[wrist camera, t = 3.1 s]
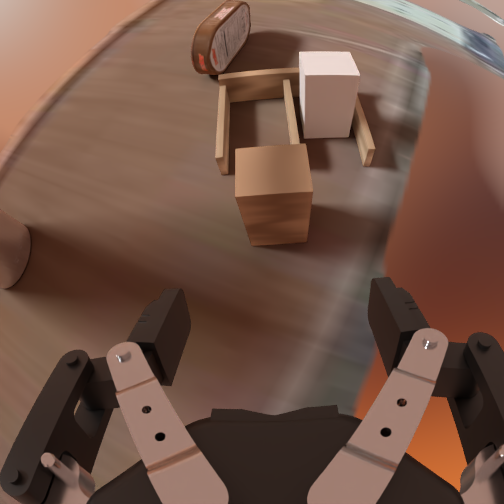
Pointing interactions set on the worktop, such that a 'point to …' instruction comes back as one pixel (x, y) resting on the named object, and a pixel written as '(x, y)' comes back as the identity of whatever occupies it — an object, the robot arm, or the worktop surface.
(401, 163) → the worktop surface
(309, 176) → the tan block
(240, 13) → the tin
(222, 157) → the rack
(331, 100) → the white block
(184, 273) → the worktop surface
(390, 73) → the worktop surface
